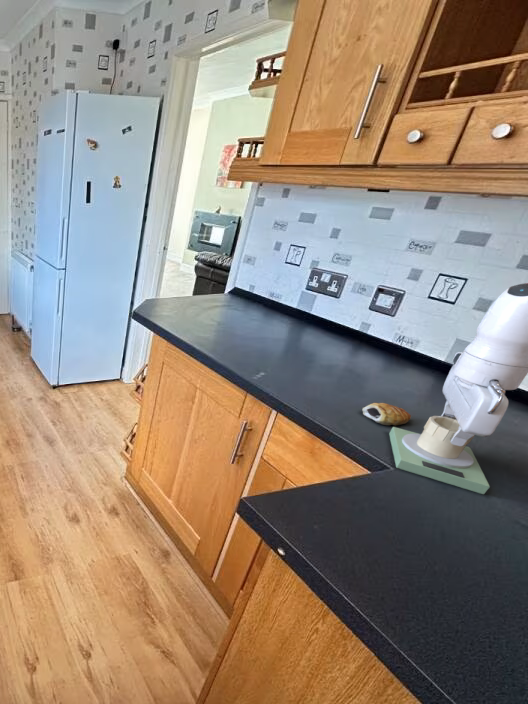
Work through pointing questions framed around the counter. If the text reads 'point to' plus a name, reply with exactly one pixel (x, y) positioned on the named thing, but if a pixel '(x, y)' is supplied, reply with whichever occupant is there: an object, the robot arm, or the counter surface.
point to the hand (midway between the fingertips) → (450, 432)
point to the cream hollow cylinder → (441, 437)
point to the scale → (437, 463)
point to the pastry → (386, 414)
